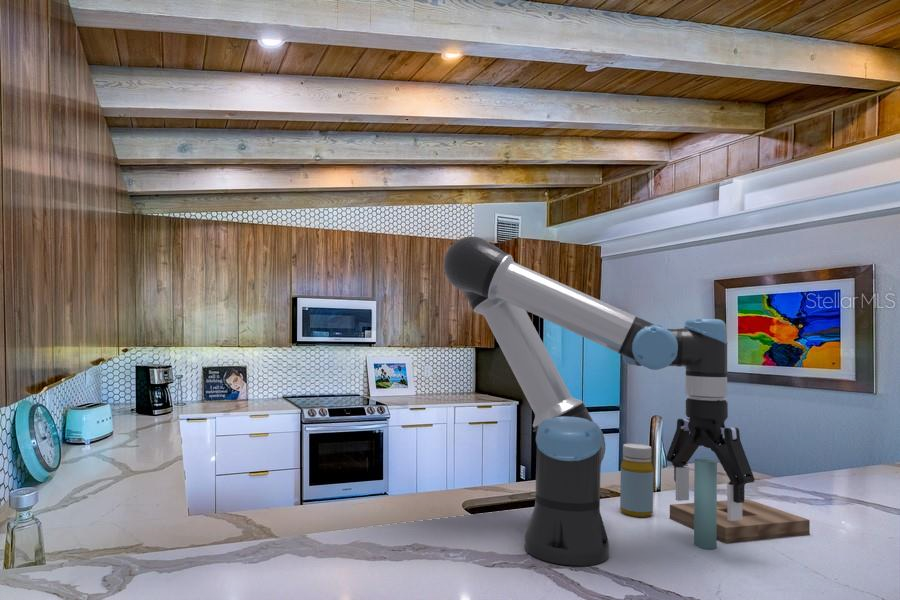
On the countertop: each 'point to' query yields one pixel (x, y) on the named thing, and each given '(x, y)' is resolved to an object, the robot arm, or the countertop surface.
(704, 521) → the pin
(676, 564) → the countertop surface
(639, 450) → the bottle
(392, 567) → the countertop surface
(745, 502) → the bore block
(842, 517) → the countertop surface
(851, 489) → the countertop surface
